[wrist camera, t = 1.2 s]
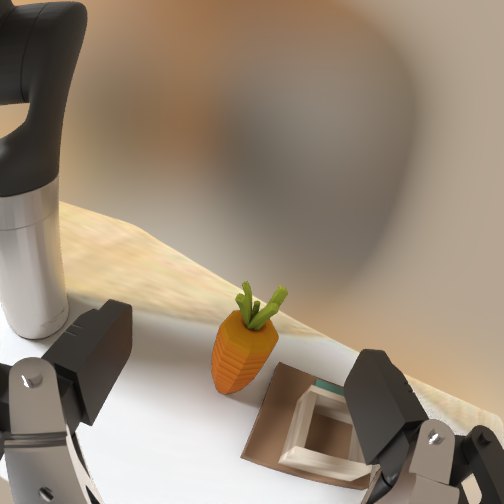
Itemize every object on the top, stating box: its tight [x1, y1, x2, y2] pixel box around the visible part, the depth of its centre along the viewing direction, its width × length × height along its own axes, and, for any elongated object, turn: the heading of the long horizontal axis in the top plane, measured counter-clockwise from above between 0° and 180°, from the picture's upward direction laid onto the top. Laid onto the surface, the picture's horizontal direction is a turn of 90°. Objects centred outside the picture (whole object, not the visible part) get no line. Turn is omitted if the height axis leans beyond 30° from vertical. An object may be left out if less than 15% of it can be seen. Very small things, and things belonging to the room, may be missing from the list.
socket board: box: [240, 362, 372, 490], centre depth 25 cm, size 14×13×5 cm
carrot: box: [211, 281, 288, 394], centre depth 24 cm, size 5×5×15 cm
